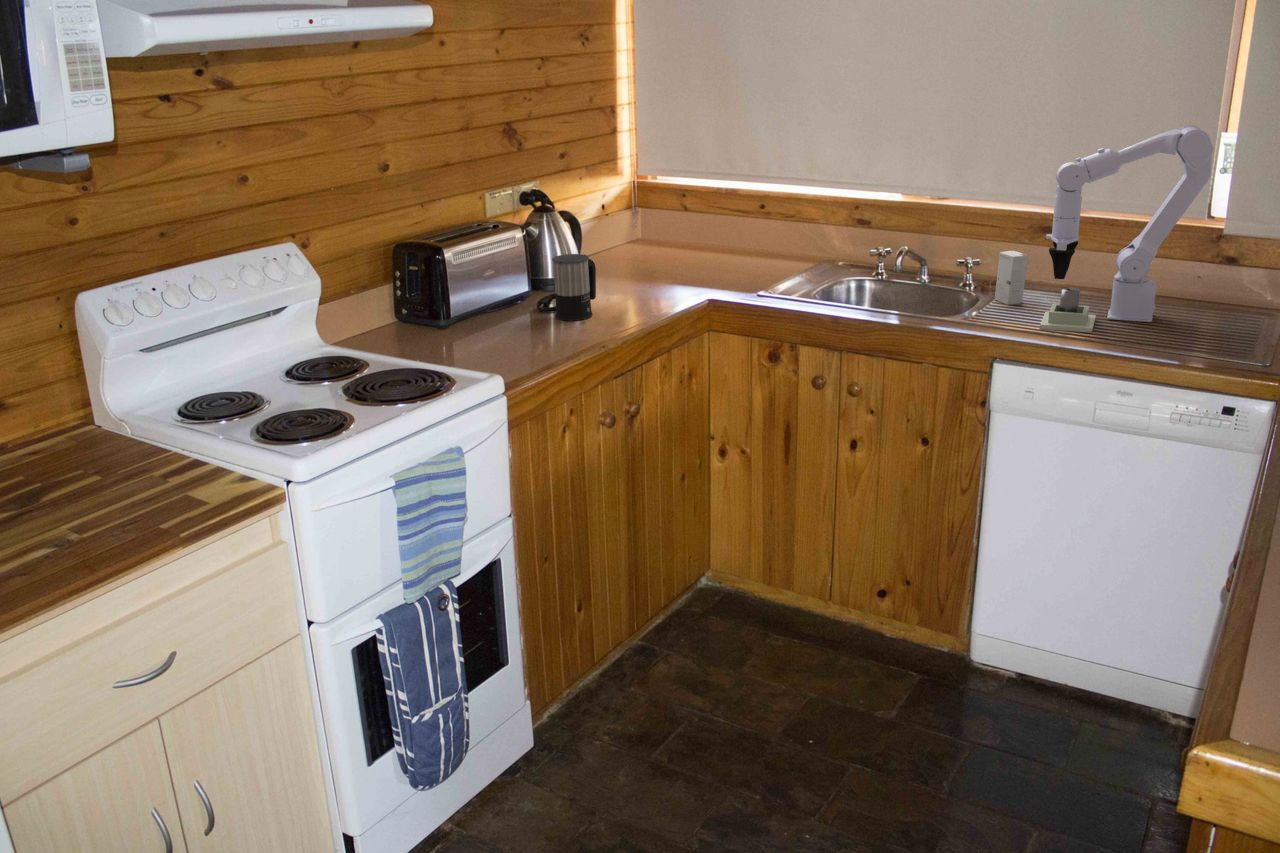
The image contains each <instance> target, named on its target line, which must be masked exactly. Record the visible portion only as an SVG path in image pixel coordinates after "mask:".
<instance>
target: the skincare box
mask: <svg viewBox="0 0 1280 853" xmlns="http://www.w3.org/2000/svg"><path fill="white" fill-rule="evenodd" d="M998 257H999V258H998V263H997V264H998V266H997V274H996V275H997V276H996V284H995V294H994V299H995V301H997V302H1000V303H1002V304H1004V305H1008V306H1009V305H1012V306H1013V305H1019V304H1022V303H1023V300H1024V299H1023V298H1024V290H1025V283H1026V276H1027V275H1026V273H1027V265H1028V255H1026V254H1025V253H1022V252H1021V251H1016V250H1006V251H999V256H998Z"/></svg>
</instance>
